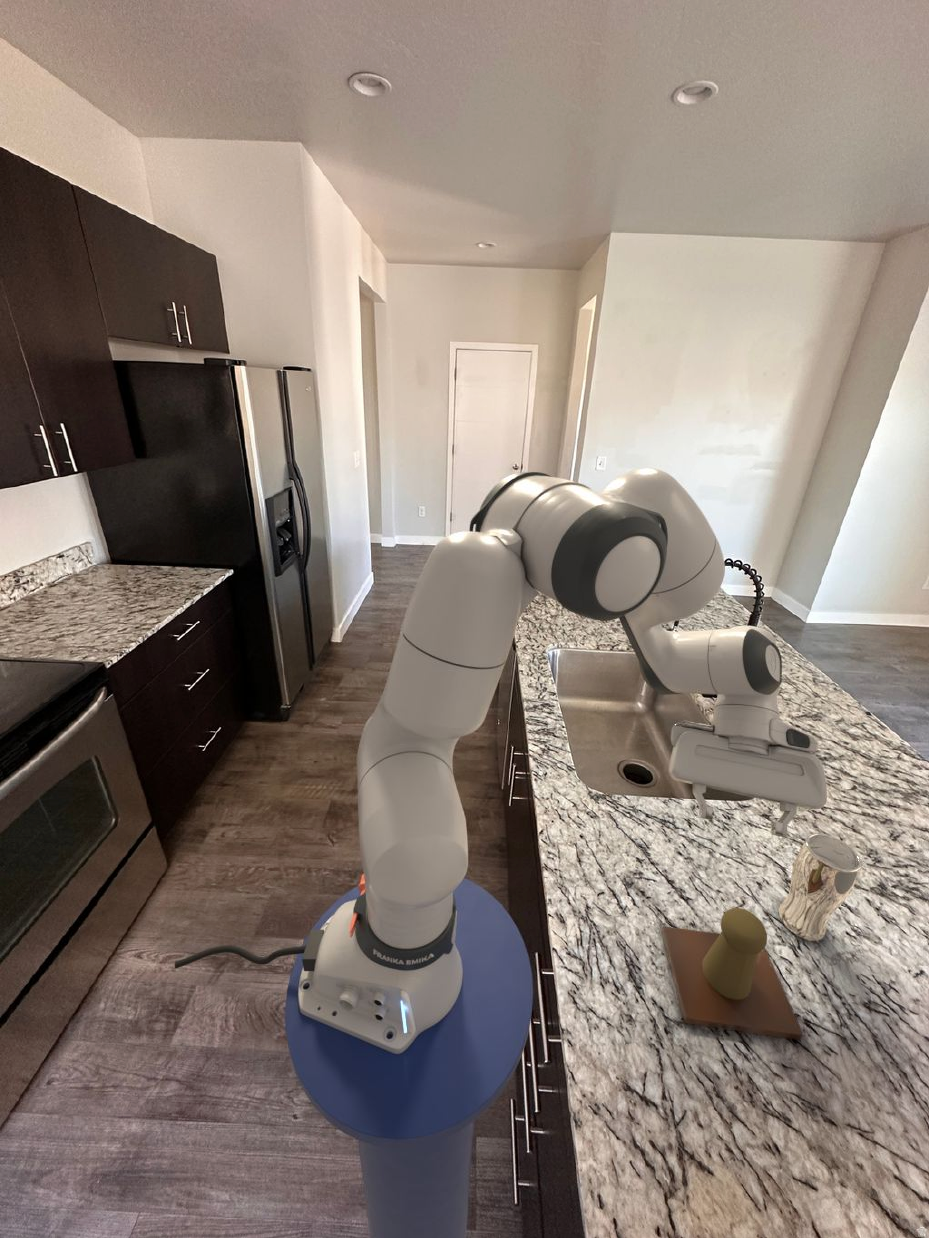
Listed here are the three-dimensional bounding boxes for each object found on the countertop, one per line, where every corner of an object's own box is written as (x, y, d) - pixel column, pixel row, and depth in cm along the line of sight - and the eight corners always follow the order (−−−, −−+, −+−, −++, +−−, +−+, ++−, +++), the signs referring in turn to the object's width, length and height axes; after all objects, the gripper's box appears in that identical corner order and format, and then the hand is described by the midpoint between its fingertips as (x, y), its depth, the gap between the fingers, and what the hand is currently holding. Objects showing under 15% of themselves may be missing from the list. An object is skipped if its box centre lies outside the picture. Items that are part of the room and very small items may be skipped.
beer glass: (764, 907, 77) (792, 837, 71) (797, 895, 79) (827, 827, 73) (804, 950, 71) (839, 878, 65) (839, 936, 73) (876, 865, 67)
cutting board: (684, 1023, 62) (686, 1017, 62) (660, 931, 73) (662, 925, 73) (800, 1040, 61) (803, 1034, 60) (758, 943, 72) (761, 938, 71)
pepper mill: (701, 945, 70) (719, 892, 66) (748, 962, 68) (770, 910, 63) (702, 987, 65) (722, 933, 60) (753, 1008, 63) (778, 953, 58)
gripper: (676, 714, 74) (668, 808, 69) (831, 742, 68) (833, 847, 64) (668, 721, 80) (660, 810, 75) (811, 748, 74) (812, 845, 70)
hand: (741, 827), depth 69 cm, fingers open, 8 cm apart
